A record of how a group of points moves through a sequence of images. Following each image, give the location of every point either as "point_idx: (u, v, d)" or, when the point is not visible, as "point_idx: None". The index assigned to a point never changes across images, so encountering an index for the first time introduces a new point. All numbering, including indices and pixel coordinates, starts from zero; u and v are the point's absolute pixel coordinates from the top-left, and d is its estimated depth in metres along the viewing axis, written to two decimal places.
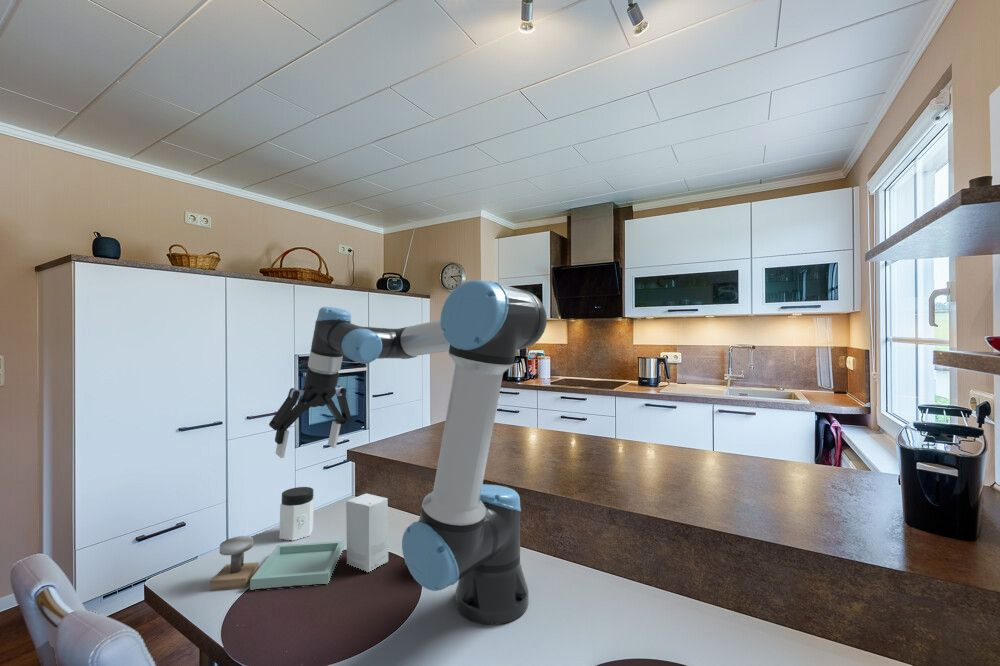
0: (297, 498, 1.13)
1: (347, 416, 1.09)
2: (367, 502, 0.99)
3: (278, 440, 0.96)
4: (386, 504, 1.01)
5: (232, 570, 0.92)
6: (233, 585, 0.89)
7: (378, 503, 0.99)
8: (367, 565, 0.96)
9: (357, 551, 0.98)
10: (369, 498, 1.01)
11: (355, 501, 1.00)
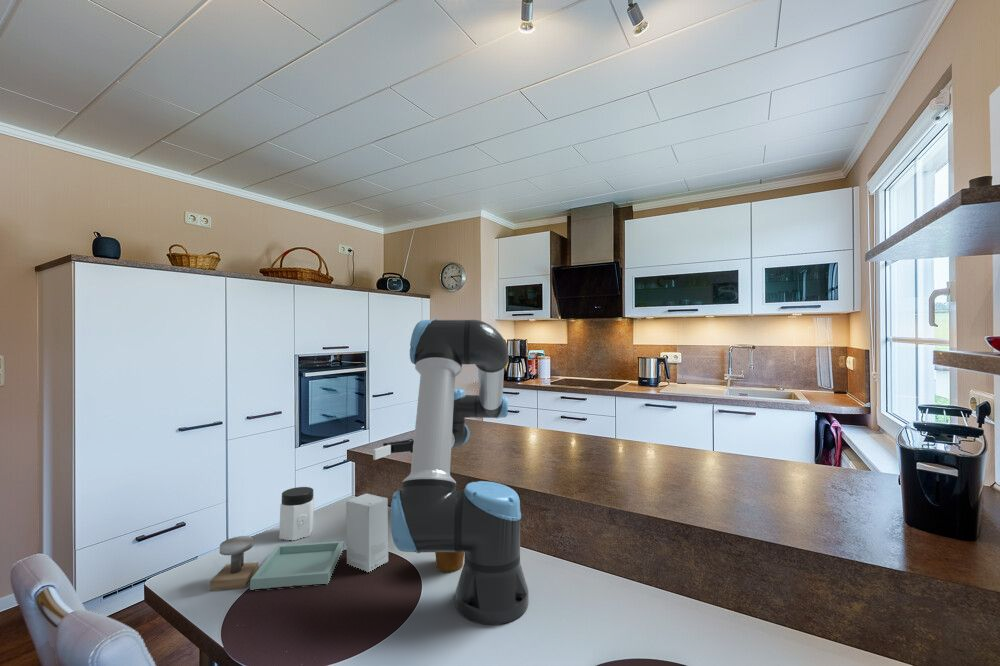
0: (297, 498, 1.13)
1: None
2: (367, 502, 0.99)
3: None
4: (386, 504, 1.01)
5: (232, 570, 0.92)
6: (233, 585, 0.89)
7: (378, 503, 0.99)
8: (367, 565, 0.96)
9: (357, 551, 0.98)
10: (369, 498, 1.01)
11: (355, 501, 1.00)
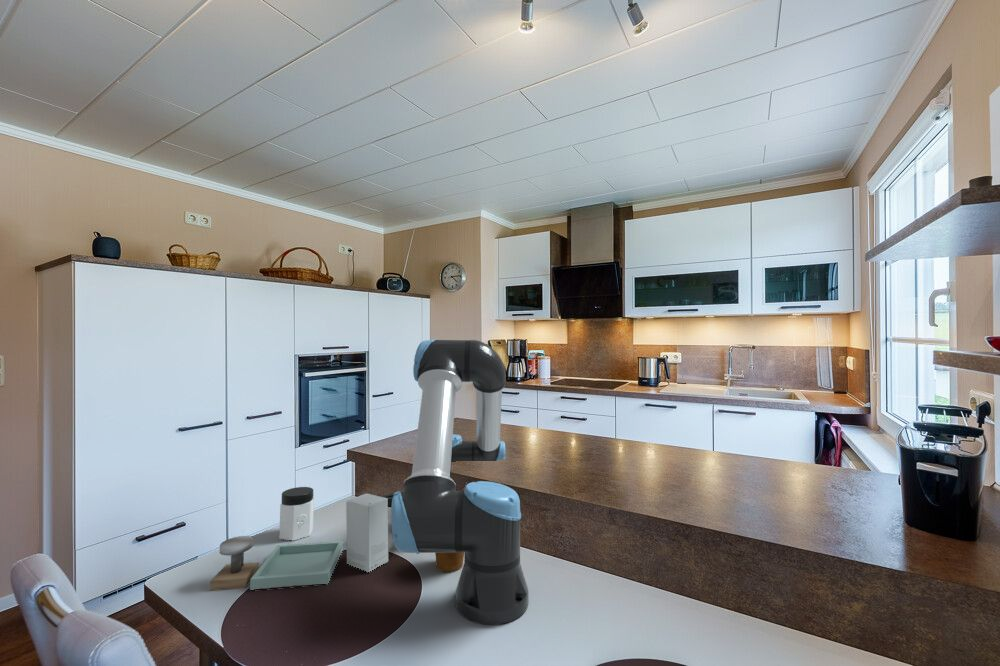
0: (297, 498, 1.13)
1: None
2: (367, 502, 0.99)
3: None
4: (386, 504, 1.01)
5: (232, 570, 0.92)
6: (233, 585, 0.89)
7: (378, 503, 0.99)
8: (367, 565, 0.96)
9: (357, 551, 0.98)
10: (369, 498, 1.01)
11: (355, 501, 1.00)
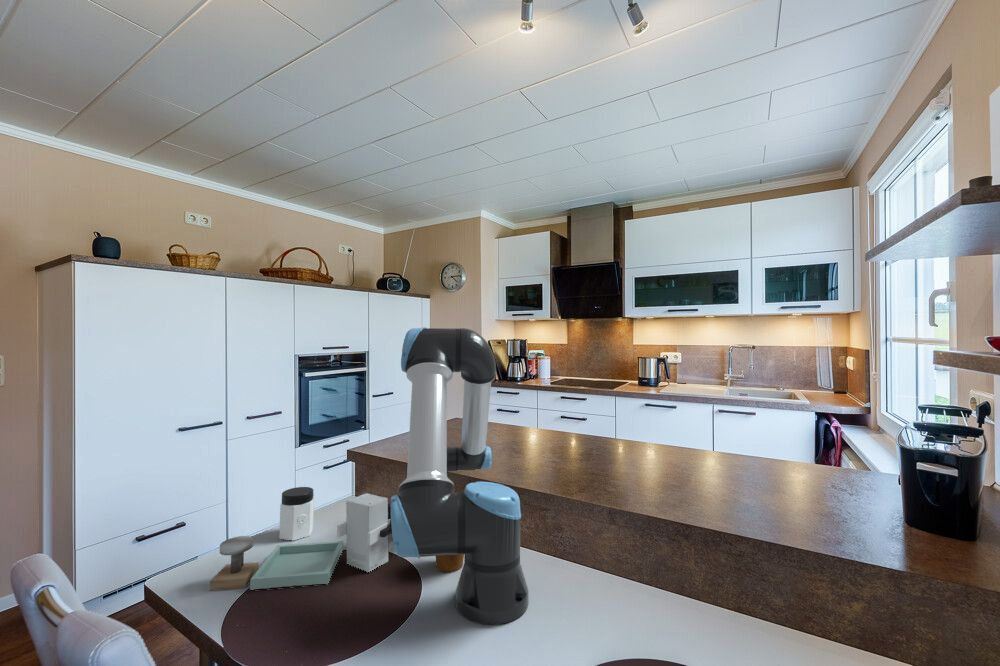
0: (297, 498, 1.13)
1: None
2: (367, 502, 0.99)
3: None
4: (387, 504, 1.01)
5: (232, 570, 0.92)
6: (233, 585, 0.89)
7: (378, 503, 0.99)
8: (367, 565, 0.96)
9: (357, 550, 0.98)
10: (369, 498, 1.01)
11: (355, 501, 1.00)
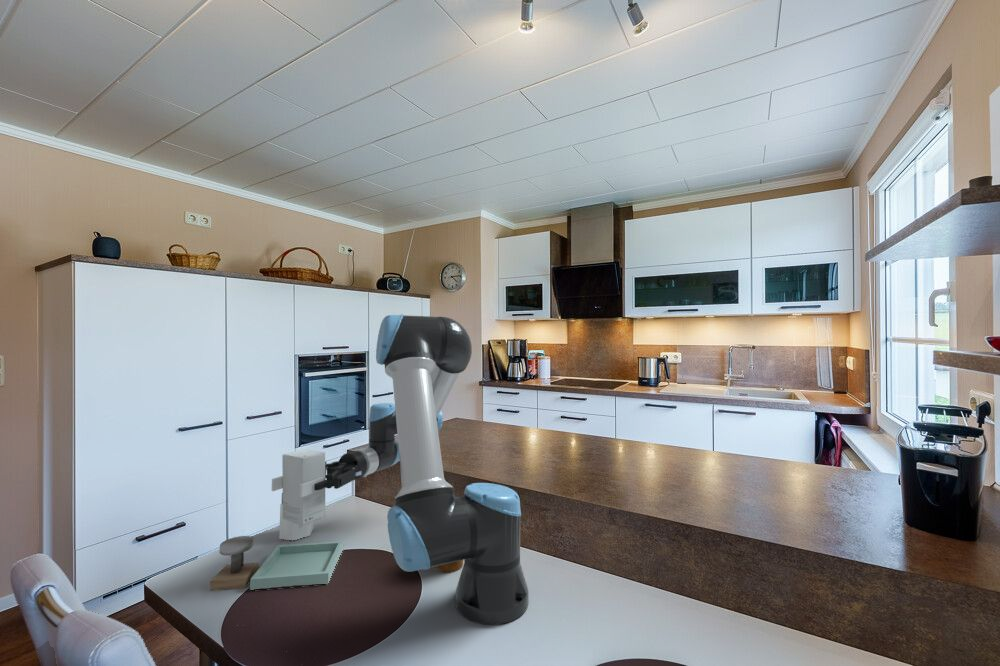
0: None
1: (338, 476, 1.00)
2: (303, 455, 0.97)
3: None
4: (324, 458, 0.99)
5: (232, 570, 0.92)
6: (233, 585, 0.89)
7: (314, 456, 0.97)
8: (301, 517, 0.94)
9: (292, 504, 0.96)
10: (306, 452, 0.99)
11: (291, 454, 0.98)
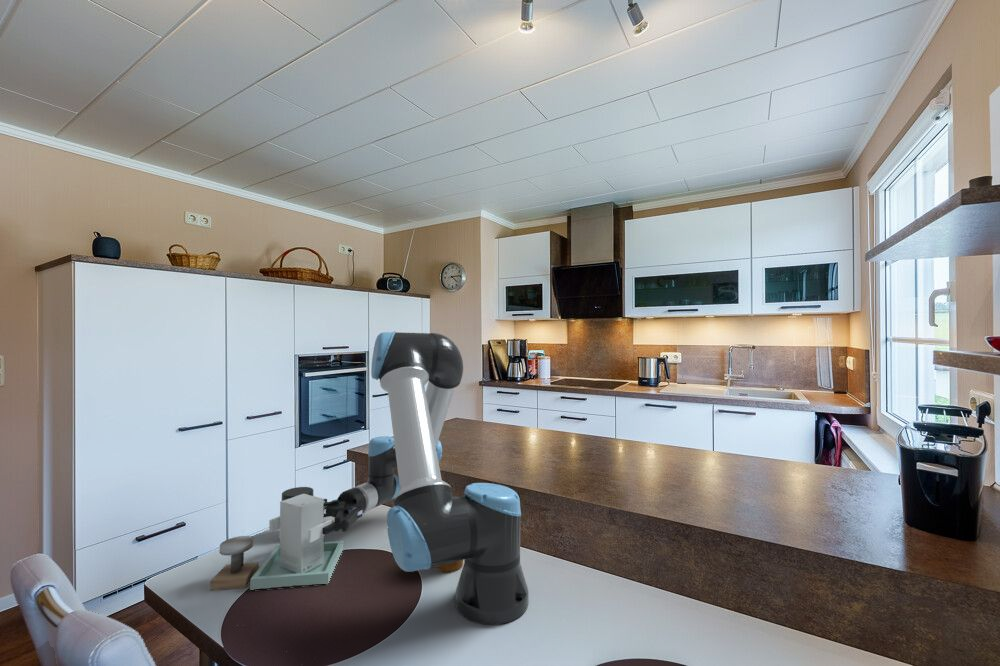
0: None
1: (344, 518, 0.99)
2: (301, 502, 0.96)
3: None
4: (322, 504, 0.99)
5: (232, 570, 0.92)
6: (233, 585, 0.89)
7: (312, 503, 0.97)
8: (299, 567, 0.94)
9: (290, 552, 0.95)
10: (304, 498, 0.99)
11: (289, 502, 0.97)
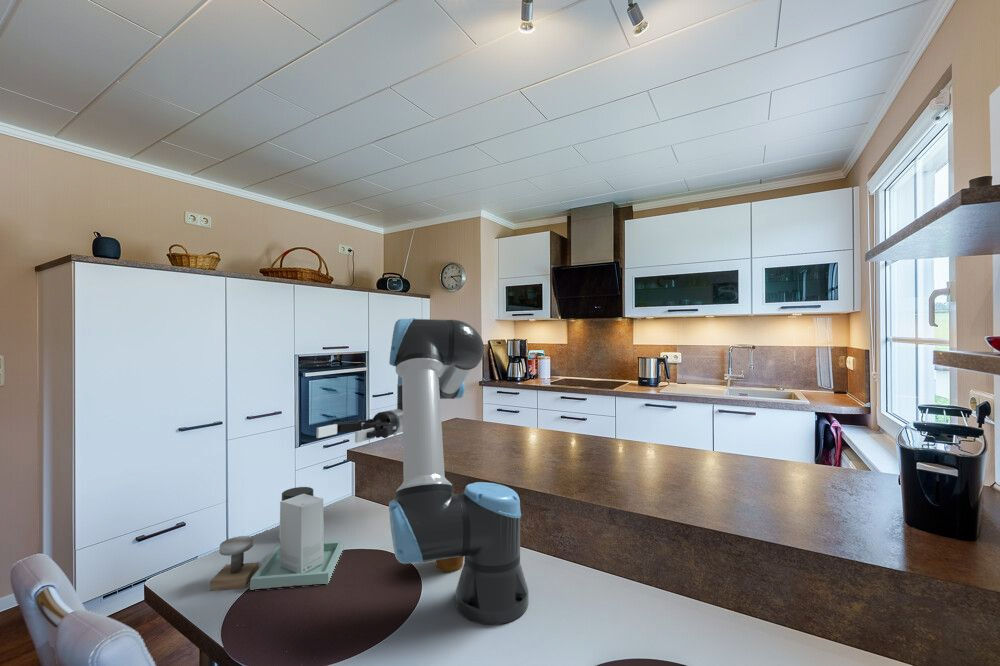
0: None
1: (384, 427, 1.12)
2: (301, 502, 0.96)
3: None
4: (322, 504, 0.99)
5: (232, 570, 0.92)
6: (233, 585, 0.89)
7: (312, 503, 0.97)
8: (299, 567, 0.94)
9: (290, 552, 0.95)
10: (304, 498, 0.99)
11: (289, 502, 0.97)
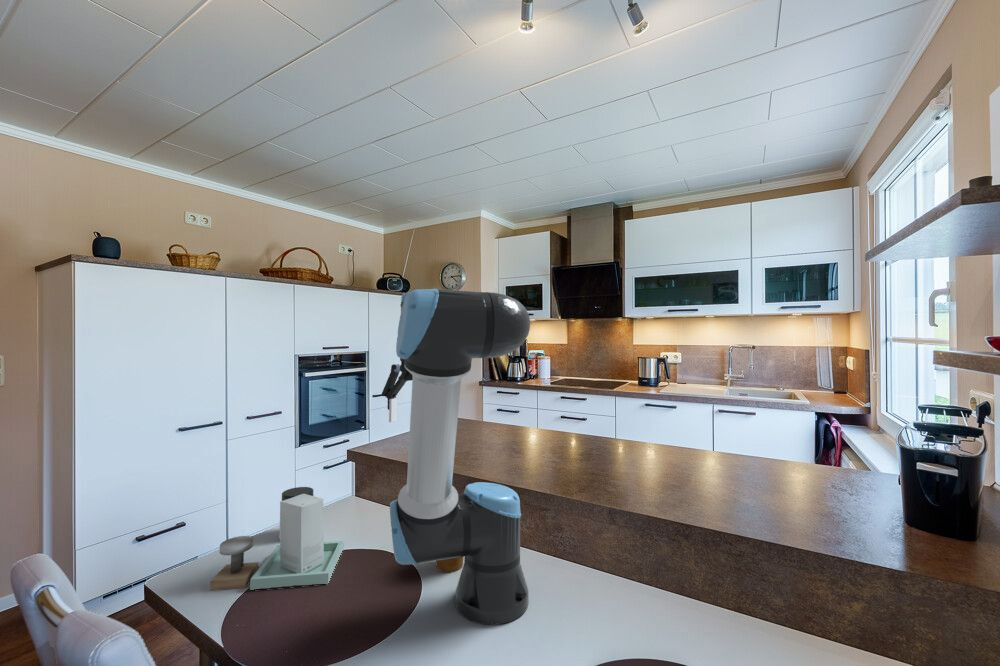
0: None
1: None
2: (301, 502, 0.96)
3: (388, 406, 1.18)
4: (322, 504, 0.99)
5: (232, 570, 0.92)
6: (233, 585, 0.89)
7: (312, 503, 0.97)
8: (299, 567, 0.94)
9: (290, 552, 0.95)
10: (304, 498, 0.99)
11: (289, 502, 0.97)
